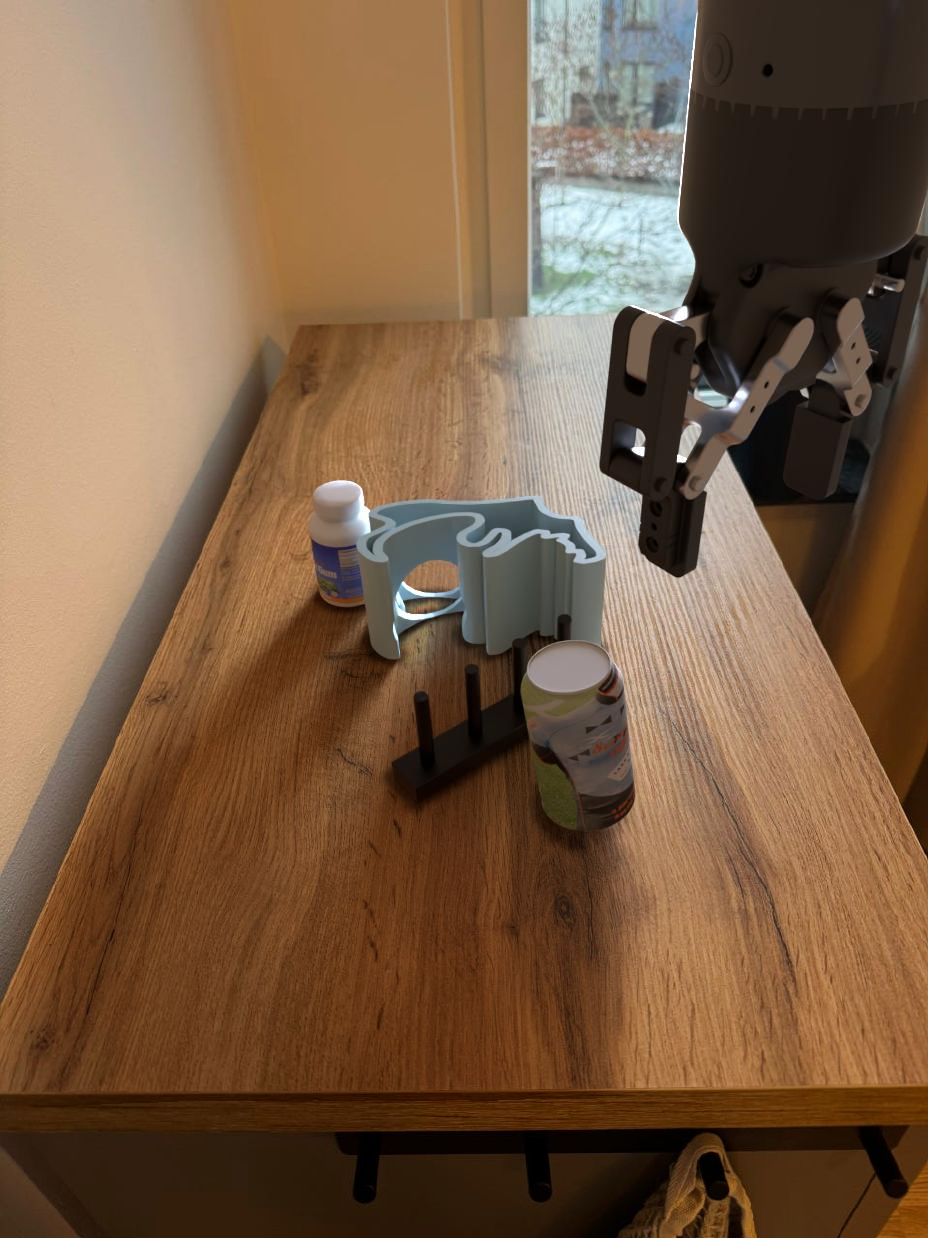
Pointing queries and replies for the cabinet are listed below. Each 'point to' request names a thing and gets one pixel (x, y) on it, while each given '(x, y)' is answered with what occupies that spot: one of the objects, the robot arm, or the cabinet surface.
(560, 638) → the rack
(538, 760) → the beverage can
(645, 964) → the cabinet surface
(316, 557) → the pill bottle
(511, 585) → the squiggly pen holder
